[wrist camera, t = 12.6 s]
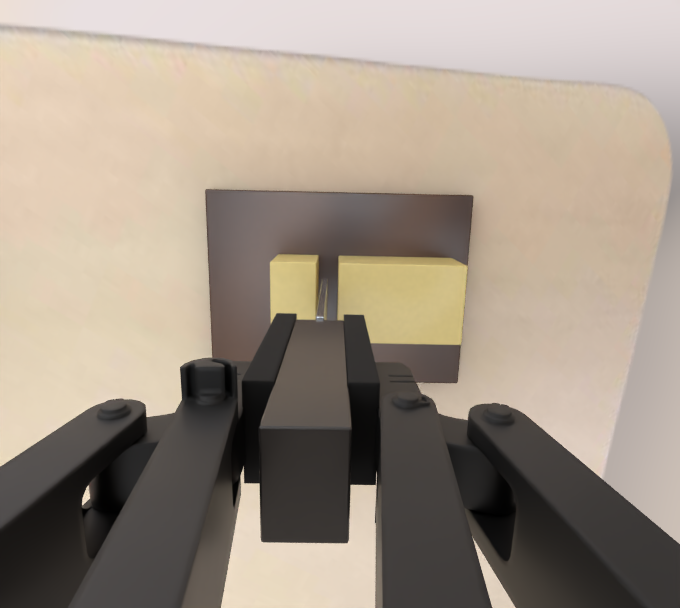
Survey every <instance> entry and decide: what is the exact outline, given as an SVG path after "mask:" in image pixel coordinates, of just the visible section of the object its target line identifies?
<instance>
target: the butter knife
mask: <svg viewBox="0 0 680 608" xmlns="http://www.w3.org/2000/svg"><path fill="white" fill-rule="evenodd" d="M327 296H328V279H322V283H321V289H320V295H319V301H318V307H317V313H316V320H299V319H296V320H295V322H294V325H293V328H292V331H291V334H290V337H289V340H288V343H287V346H286V349H285V352H284V355H283V358H282V361H281V364H280V367H279V370H278V373H277V376H276V379H275V382H274V385H273V387H272V390H271V393H270V396H269V399H268V402H267V405H266V408H265V411H264V414H263V417H262V420H261V423H260V426H259V474H260V525H261V541H262V542H284V543H348V541H349V516H350V484H351V451H352V420H351V406H350V392H349V386H348V374H347V358H346V343H345V328H344V321H343V320H327Z"/></svg>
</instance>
